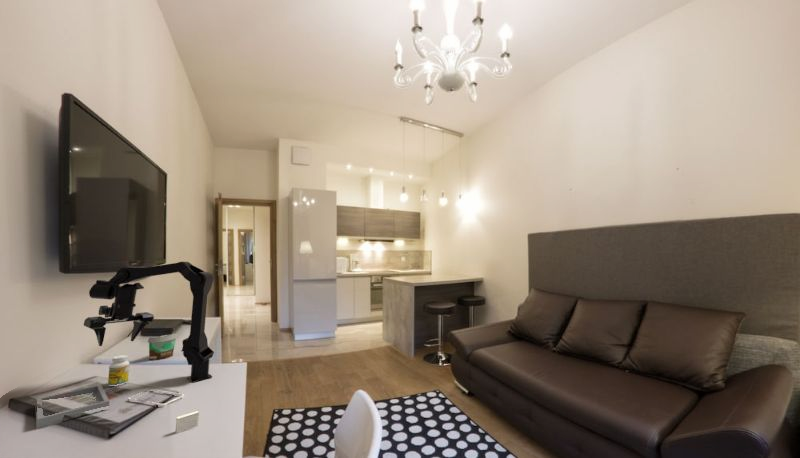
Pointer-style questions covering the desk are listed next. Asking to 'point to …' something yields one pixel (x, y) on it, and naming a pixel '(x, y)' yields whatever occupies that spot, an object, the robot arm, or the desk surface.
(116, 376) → the supplement bottle
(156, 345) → the food container
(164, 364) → the desk surface
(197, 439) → the desk surface
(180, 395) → the phone case
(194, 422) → the eraser
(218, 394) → the desk surface
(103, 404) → the tray
